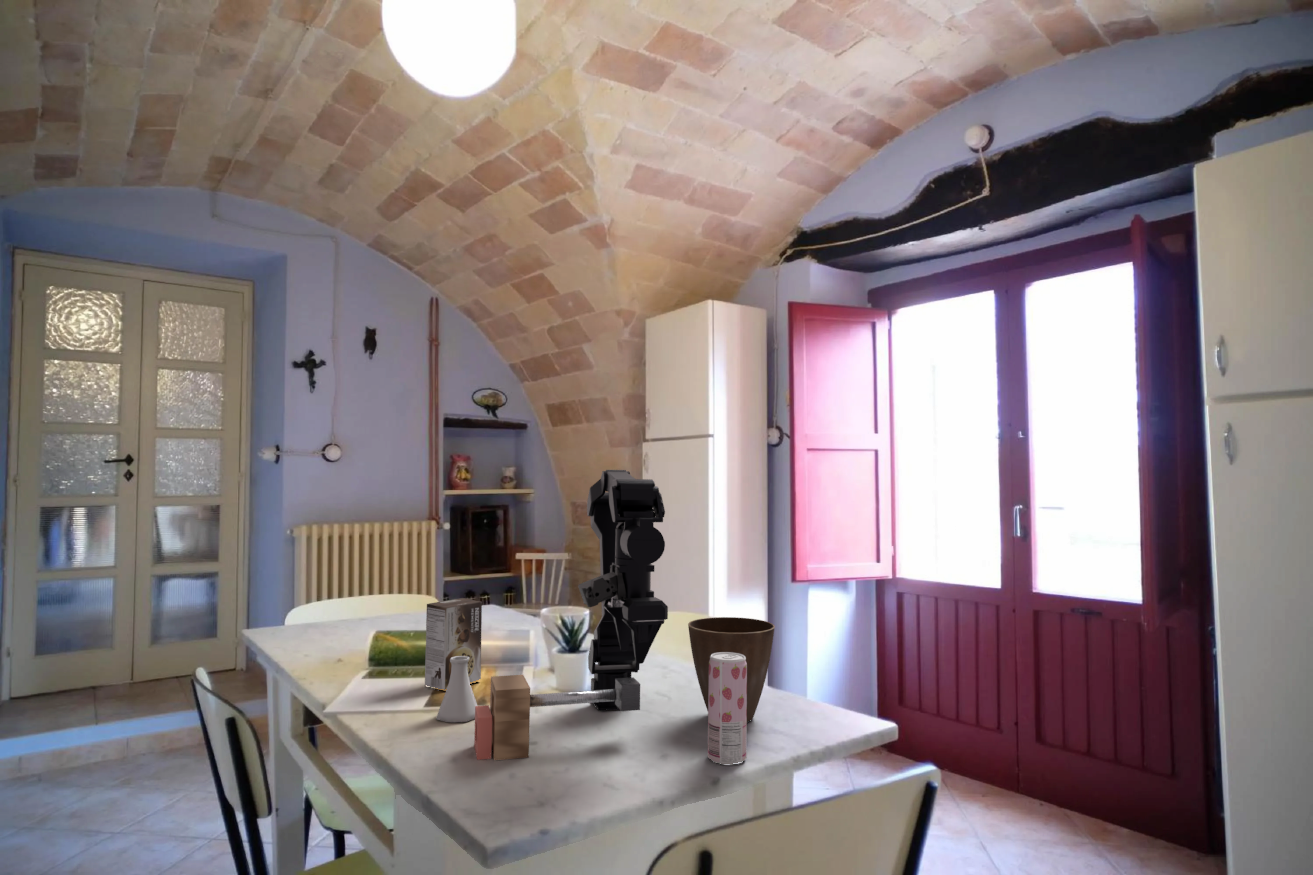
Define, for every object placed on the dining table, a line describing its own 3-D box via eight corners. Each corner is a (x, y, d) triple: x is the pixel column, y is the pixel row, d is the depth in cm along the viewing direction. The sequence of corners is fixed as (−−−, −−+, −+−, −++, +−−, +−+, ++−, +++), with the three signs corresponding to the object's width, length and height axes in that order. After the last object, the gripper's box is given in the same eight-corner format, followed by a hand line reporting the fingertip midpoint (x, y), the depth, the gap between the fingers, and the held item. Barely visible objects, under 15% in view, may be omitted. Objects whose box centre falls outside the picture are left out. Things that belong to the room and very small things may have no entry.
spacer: (487, 744, 119) (488, 705, 119) (491, 758, 113) (492, 716, 114) (474, 745, 119) (475, 706, 119) (477, 759, 113) (478, 717, 113)
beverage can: (748, 753, 117) (749, 652, 117) (743, 767, 111) (744, 661, 112) (710, 750, 118) (711, 650, 119) (704, 763, 112) (705, 658, 113)
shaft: (633, 702, 125) (633, 677, 125) (639, 709, 121) (640, 683, 122) (510, 711, 119) (511, 685, 120) (513, 719, 116) (514, 692, 116)
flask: (468, 725, 128) (470, 664, 129) (428, 721, 130) (429, 661, 130) (486, 712, 135) (488, 654, 136) (448, 709, 137) (449, 651, 137)
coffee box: (460, 677, 158) (462, 597, 159) (481, 682, 154) (483, 600, 155) (422, 686, 151) (425, 602, 151) (444, 692, 147) (447, 606, 148)
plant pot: (675, 725, 130) (676, 628, 131) (701, 701, 144) (702, 613, 145) (763, 736, 125) (764, 635, 125) (781, 710, 139) (782, 620, 139)
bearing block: (521, 739, 122) (523, 674, 122) (528, 757, 114) (530, 688, 115) (489, 741, 120) (490, 676, 121) (494, 760, 113) (495, 690, 113)
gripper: (572, 552, 131) (570, 646, 130) (596, 564, 113) (594, 674, 112) (636, 551, 134) (634, 643, 133) (669, 563, 116) (668, 669, 115)
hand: (631, 656), depth 123 cm, fingers open, 9 cm apart
